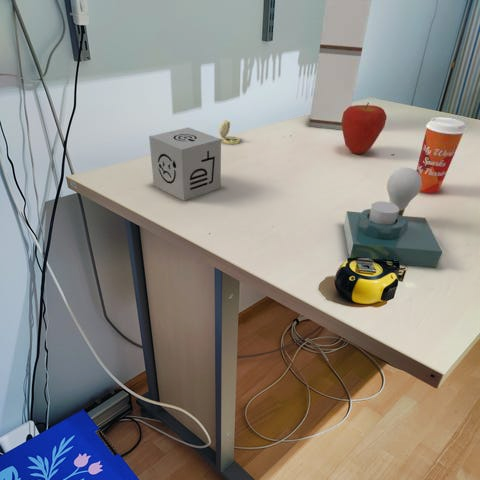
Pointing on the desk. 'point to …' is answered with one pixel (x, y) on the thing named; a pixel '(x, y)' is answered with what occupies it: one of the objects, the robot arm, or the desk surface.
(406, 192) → the light bulb
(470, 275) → the desk surface
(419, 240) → the teal button base
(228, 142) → the eyeshadow
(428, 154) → the paper cup
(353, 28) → the tall brown-striped box
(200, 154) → the icon cube
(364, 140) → the apple
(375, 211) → the grey push button
